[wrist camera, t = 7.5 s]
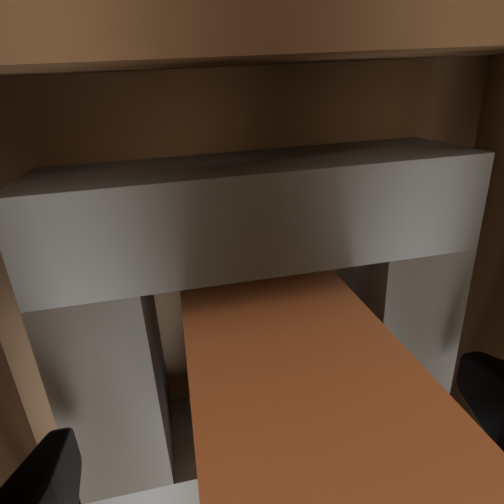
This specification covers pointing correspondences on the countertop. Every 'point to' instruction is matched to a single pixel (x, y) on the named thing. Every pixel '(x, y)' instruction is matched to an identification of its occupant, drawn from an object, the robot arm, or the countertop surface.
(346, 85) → the tray
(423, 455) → the block
